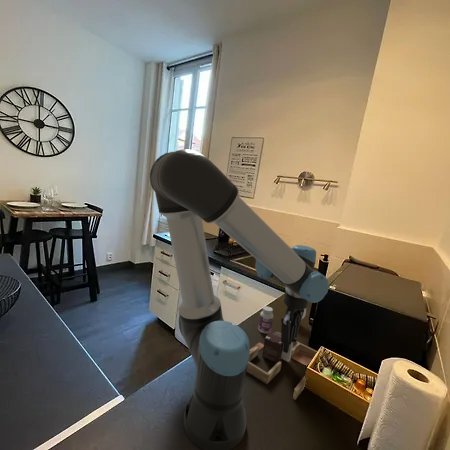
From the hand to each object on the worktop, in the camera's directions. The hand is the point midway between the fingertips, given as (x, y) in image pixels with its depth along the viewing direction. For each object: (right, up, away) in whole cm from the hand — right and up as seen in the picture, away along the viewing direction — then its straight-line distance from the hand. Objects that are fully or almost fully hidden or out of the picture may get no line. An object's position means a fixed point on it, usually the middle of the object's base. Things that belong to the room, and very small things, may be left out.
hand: (285, 359), depth 89 cm
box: (-4, -1, +3) cm, 5 cm away
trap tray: (-2, -1, 0) cm, 2 cm away
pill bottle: (-4, +2, +19) cm, 20 cm away
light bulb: (+10, +1, +27) cm, 29 cm away
